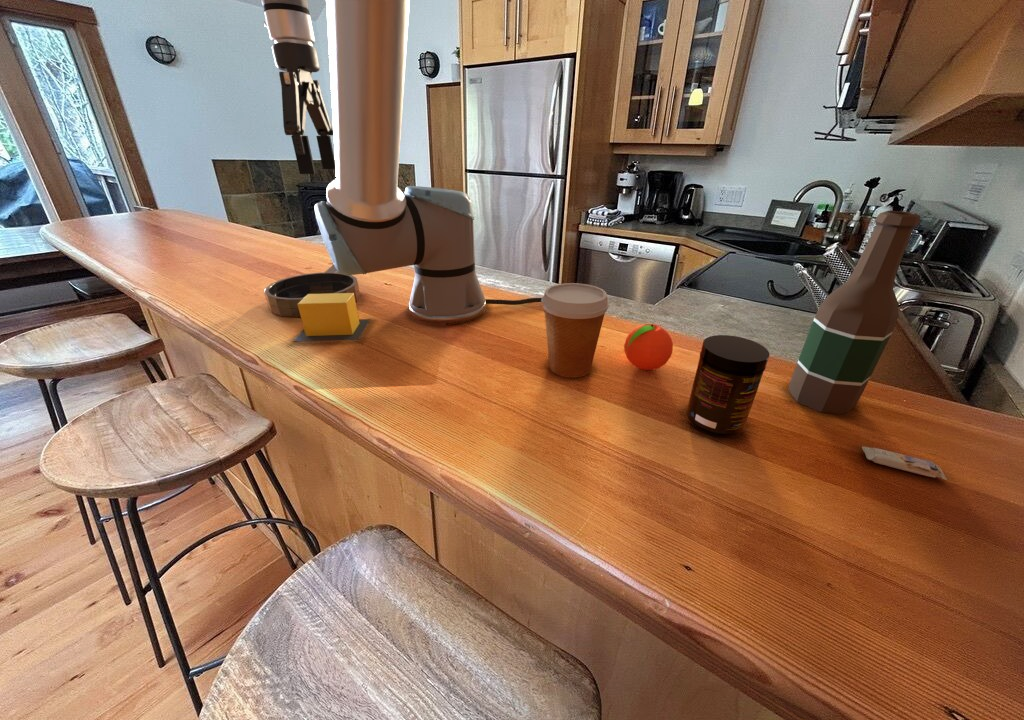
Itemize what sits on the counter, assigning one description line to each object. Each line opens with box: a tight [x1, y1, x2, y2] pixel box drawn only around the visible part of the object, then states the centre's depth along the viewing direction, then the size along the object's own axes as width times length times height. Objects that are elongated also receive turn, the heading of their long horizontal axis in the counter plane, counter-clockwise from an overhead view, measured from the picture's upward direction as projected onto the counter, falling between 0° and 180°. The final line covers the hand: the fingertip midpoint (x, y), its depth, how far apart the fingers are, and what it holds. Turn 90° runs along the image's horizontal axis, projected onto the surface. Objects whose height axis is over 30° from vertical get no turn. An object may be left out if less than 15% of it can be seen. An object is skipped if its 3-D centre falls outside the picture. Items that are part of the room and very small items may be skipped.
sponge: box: [298, 293, 360, 336], centre depth 73 cm, size 8×5×6 cm, turn 94°
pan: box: [263, 271, 361, 318], centre depth 86 cm, size 18×18×4 cm
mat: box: [292, 318, 371, 343], centre depth 74 cm, size 11×9×1 cm
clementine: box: [623, 323, 674, 371], centre depth 61 cm, size 8×7×7 cm
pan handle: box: [324, 263, 340, 273], centre depth 98 cm, size 3×11×2 cm, turn 4°
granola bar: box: [861, 445, 948, 481], centre depth 44 cm, size 7×2×1 cm, turn 63°
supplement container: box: [685, 334, 770, 439], centre depth 48 cm, size 7×7×10 cm
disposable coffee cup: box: [540, 282, 610, 379], centre depth 60 cm, size 10×10×12 cm
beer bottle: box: [788, 210, 921, 415], centre depth 50 cm, size 8×8×24 cm
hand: (319, 171), depth 86 cm, fingers open, 13 cm apart
